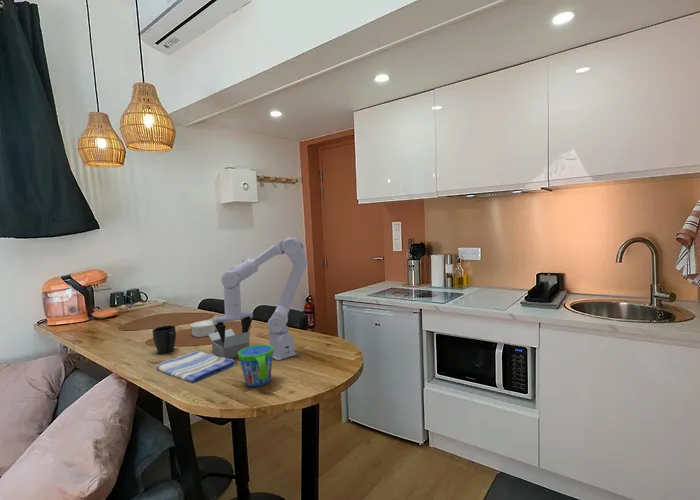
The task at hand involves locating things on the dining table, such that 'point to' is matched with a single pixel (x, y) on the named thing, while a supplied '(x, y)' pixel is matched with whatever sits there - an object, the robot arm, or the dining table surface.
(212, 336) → the far flap
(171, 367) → the dish towel
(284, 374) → the dining table surface
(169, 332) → the mug
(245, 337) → the near flap
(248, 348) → the snack cup
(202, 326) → the ramekin
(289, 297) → the robot arm
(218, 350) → the carton
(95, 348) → the dining table surface
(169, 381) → the dining table surface
